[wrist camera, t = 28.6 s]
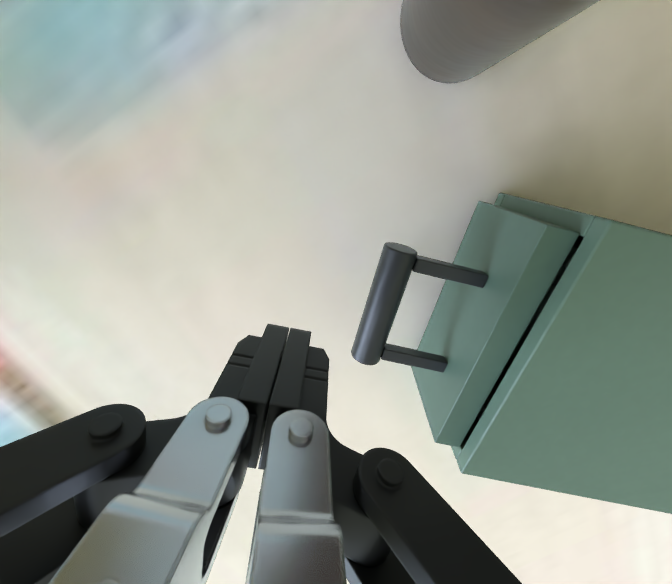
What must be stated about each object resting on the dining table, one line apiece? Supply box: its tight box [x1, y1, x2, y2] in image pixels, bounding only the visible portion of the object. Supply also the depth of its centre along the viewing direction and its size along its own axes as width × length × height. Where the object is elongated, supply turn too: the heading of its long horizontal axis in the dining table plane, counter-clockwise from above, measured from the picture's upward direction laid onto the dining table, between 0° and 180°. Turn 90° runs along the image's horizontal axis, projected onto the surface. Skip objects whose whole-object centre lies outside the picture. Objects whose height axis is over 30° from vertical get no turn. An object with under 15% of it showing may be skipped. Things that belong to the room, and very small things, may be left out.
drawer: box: [351, 201, 582, 447], centre depth 15 cm, size 17×10×6 cm, turn 77°
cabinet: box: [451, 193, 672, 514], centre depth 15 cm, size 13×11×7 cm
